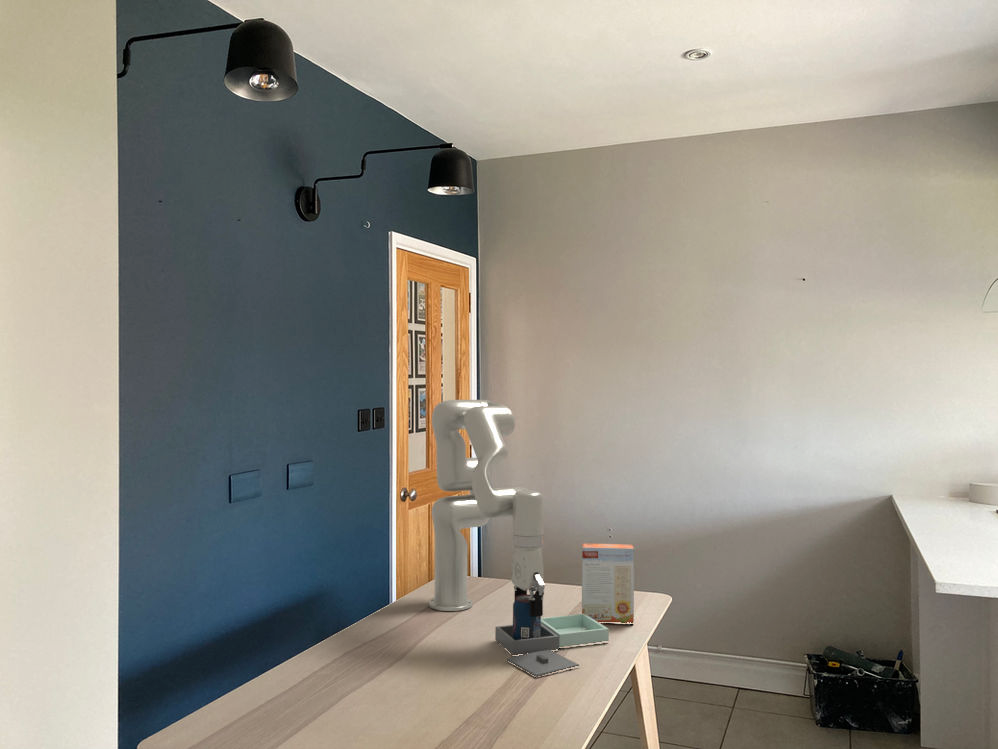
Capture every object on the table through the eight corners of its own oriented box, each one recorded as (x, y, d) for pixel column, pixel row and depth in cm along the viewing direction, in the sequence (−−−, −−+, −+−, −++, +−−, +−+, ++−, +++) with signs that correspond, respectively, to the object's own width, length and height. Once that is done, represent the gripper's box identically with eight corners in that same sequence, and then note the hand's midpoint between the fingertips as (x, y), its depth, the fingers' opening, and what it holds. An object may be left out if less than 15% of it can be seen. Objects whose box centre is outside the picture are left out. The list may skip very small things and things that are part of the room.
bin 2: (537, 632, 206) (537, 618, 206) (583, 627, 211) (584, 613, 211) (559, 649, 193) (559, 634, 193) (608, 643, 198) (608, 628, 198)
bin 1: (495, 640, 199) (495, 626, 199) (539, 635, 203) (539, 621, 203) (513, 656, 188) (513, 641, 188) (558, 651, 192) (559, 636, 192)
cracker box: (632, 619, 218) (633, 543, 218) (633, 626, 212) (634, 548, 212) (581, 617, 219) (582, 541, 219) (581, 624, 213) (582, 546, 213)
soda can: (514, 640, 199) (515, 592, 199) (542, 642, 198) (542, 594, 198) (510, 649, 192) (511, 600, 192) (538, 651, 191) (539, 602, 191)
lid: (506, 661, 184) (506, 653, 184) (547, 652, 191) (547, 644, 191) (536, 678, 174) (536, 670, 174) (578, 668, 181) (579, 660, 181)
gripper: (501, 536, 202) (501, 603, 201) (527, 548, 186) (527, 622, 185) (528, 534, 205) (528, 601, 204) (556, 546, 188) (557, 618, 188)
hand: (528, 611), depth 195 cm, fingers open, 9 cm apart
